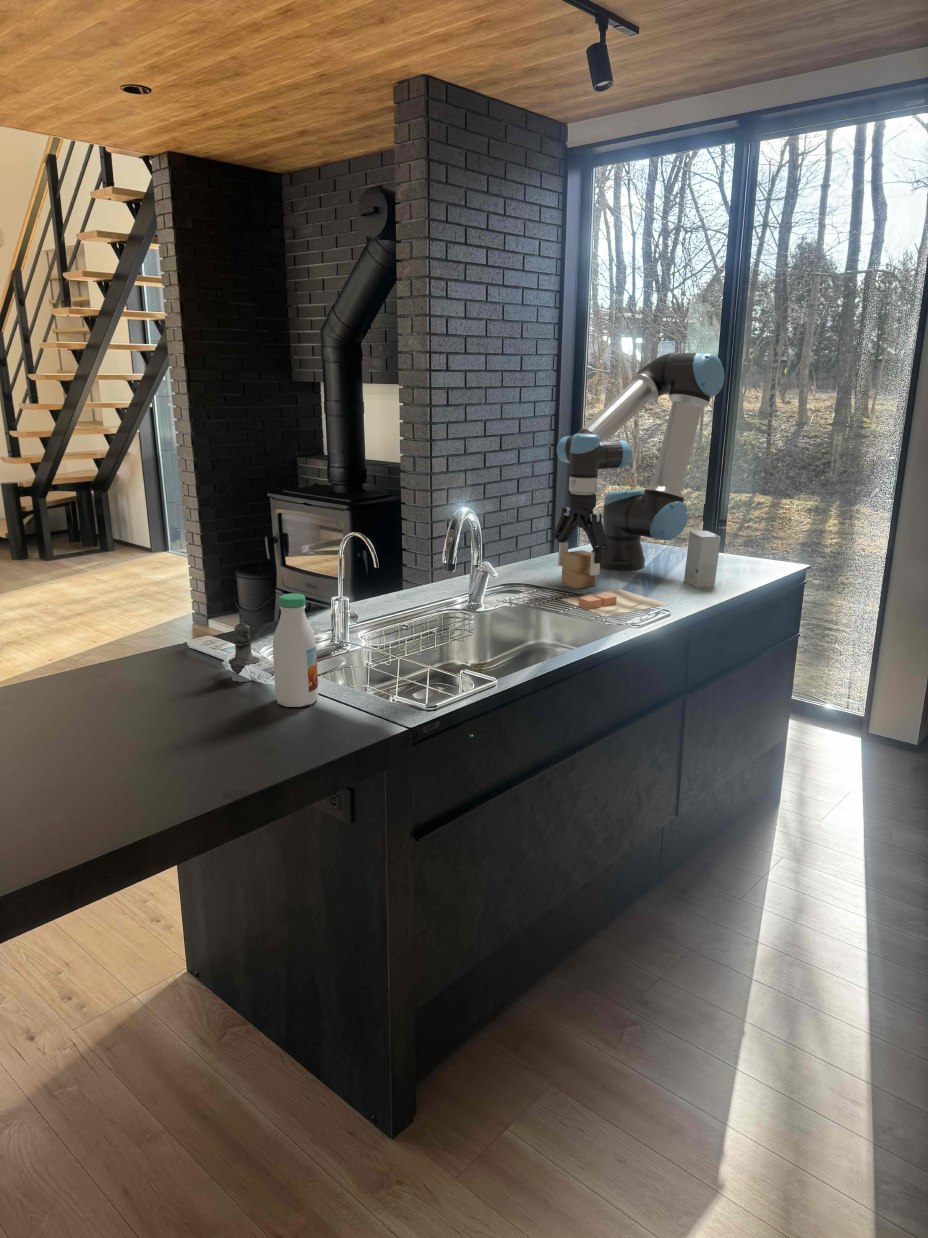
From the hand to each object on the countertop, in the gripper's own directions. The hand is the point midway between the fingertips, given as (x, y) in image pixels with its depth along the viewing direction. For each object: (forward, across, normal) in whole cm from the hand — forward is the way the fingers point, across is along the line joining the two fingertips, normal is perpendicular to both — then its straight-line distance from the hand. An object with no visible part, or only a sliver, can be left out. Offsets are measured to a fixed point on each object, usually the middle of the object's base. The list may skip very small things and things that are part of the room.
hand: (578, 570), depth 239 cm
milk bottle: (+7, +38, -98) cm, 105 cm away
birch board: (+5, +19, -4) cm, 20 cm away
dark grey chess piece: (+7, +21, -102) cm, 104 cm away
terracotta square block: (+4, +19, -7) cm, 21 cm away
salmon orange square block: (+4, +19, -12) cm, 23 cm away
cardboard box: (+5, 0, 0) cm, 5 cm away
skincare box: (+5, +14, +33) cm, 37 cm away
